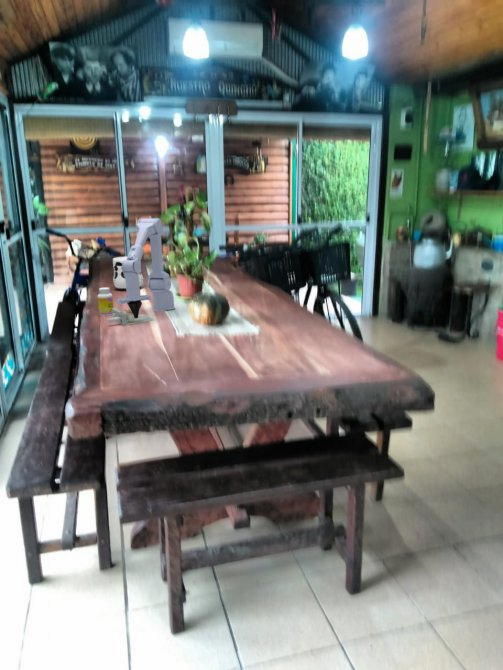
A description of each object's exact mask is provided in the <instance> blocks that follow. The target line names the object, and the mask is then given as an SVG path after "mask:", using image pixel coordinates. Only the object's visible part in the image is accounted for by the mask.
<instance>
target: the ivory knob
mask: <svg viewBox="0 0 503 670" xmlns="http://www.w3.org/2000/svg"><path fill="white" fill-rule="evenodd" d="M126 320H127V321H134V315H133V313H126ZM117 321H122V316H120V317H114V318H113V317H109V318H106V322H107V323H108V324H109V323H115V322H117Z"/></svg>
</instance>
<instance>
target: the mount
mask: <svg viewBox="0 0 503 670" xmlns="http://www.w3.org/2000/svg"><path fill="white" fill-rule="evenodd" d="M123 312H124V311H121V310H120V309H118V308H116V307H113V308H112V315H111V316H112V318H114V317H113V313H116V317H120V316H122V321H116V322H117V323H119V324H120V325H121V326H128V325H133V324H140V323H145V322H151V321H156V319H155V318H153V317H151V316H149V315H147V314H146V313H142V314H139V315H138V318H134V321H126V314H125V313H123Z"/></svg>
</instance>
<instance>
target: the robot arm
mask: <svg viewBox="0 0 503 670" xmlns="http://www.w3.org/2000/svg"><path fill="white" fill-rule="evenodd" d="M136 228H137V236H136V239H135V243H134V245H133V244H132V245H131V246H130V249H129V252H128V254H127V255H126V256H127V259H126V260H125V261H123V262H122V267H121V268H122V271H123V274H124V277H125V280H126V290H125V291H126V297H122V298H118V299H116V301H117V302H116V303H117V304H118V305H122V304H127V305H128V307H129V309H130V310H131V311H132V313H133V315H134V318H138V314H139V313H140V309H141V307H142V305H143V302H142V301H151V300H152V301H153V307H151V308H150V309H152V310H153V311H156V312H160V311H161V312H162V311H164V312H166V311H170V310H175V309H176V308H175V299H174V293H173V291H172V290H171V288H172V281H171V277H170V274H169V273H167V272H166V271H164V262H163V260H164V259H163V249H162V248H163V247H162V236H163V235H164V231H163V230H164V228H163V222H162V221H161V219H160V218H159V217H157V218H142V217H140V218H139V219H138V220H137V223H136ZM148 238H149V240H150V243H149V245H150V255H151V267H152V268H151V269H152V270H151V271H152V272H151V273H149V275H148V280H147V286H148V290H150V292H151V293H152V297H151V295H150V294H145V295H144V294H143V295H142V294H141V287H140V285H139V272H140V269H141V270H142V262H141V260H142V258H143V255H144V251H145V250H144V246H145V243H146V241H147V240H148ZM151 298H152V299H151ZM139 315H140V314H139Z"/></svg>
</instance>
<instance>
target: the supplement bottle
mask: <svg viewBox="0 0 503 670" xmlns="http://www.w3.org/2000/svg"><path fill="white" fill-rule="evenodd" d="M98 291H99V293H98V295H97V303H98V311H99V314H98V315H99V316H102V317H108V316H113V315H112V308H114V300H113V294H112V293H111V292H110V287H99V288H98Z"/></svg>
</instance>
